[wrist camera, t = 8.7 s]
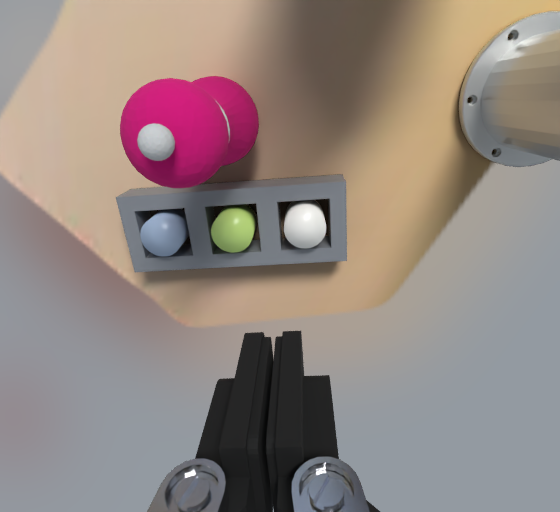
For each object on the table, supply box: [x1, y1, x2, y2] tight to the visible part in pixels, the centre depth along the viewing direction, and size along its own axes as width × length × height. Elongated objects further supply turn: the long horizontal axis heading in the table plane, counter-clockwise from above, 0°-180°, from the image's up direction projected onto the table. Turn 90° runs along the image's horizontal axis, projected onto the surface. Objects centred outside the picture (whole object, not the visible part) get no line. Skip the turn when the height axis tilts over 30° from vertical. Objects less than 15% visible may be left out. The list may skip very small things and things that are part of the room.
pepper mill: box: [120, 76, 259, 188], centre depth 27 cm, size 7×7×20 cm
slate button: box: [140, 208, 189, 257], centre depth 38 cm, size 4×4×4 cm
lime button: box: [211, 204, 257, 253], centre depth 38 cm, size 4×4×4 cm
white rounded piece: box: [284, 200, 326, 248], centre depth 37 cm, size 4×4×4 cm
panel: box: [116, 174, 347, 272], centre depth 38 cm, size 22×8×4 cm, turn 95°
